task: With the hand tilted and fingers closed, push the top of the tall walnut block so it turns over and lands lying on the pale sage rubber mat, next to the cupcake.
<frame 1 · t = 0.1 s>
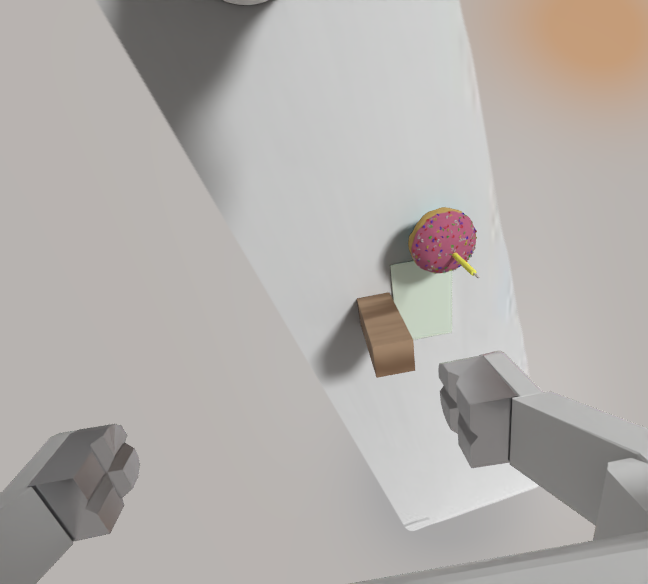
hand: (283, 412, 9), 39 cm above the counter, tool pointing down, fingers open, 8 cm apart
mat: (422, 300, 54), on the counter
cupcake: (429, 230, 48), on the counter
block: (374, 309, 54), on the counter
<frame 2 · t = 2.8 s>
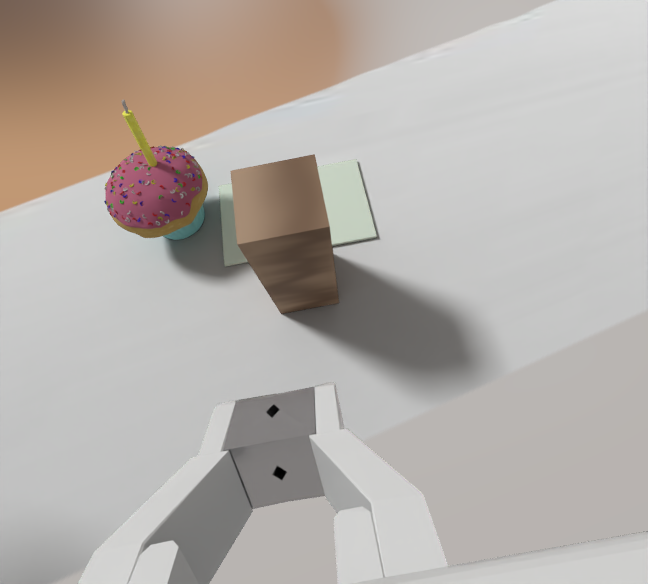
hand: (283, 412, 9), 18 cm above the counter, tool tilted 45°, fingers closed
mat: (294, 211, 33), on the counter
cupcake: (182, 221, 34), on the counter
block: (305, 282, 30), on the counter
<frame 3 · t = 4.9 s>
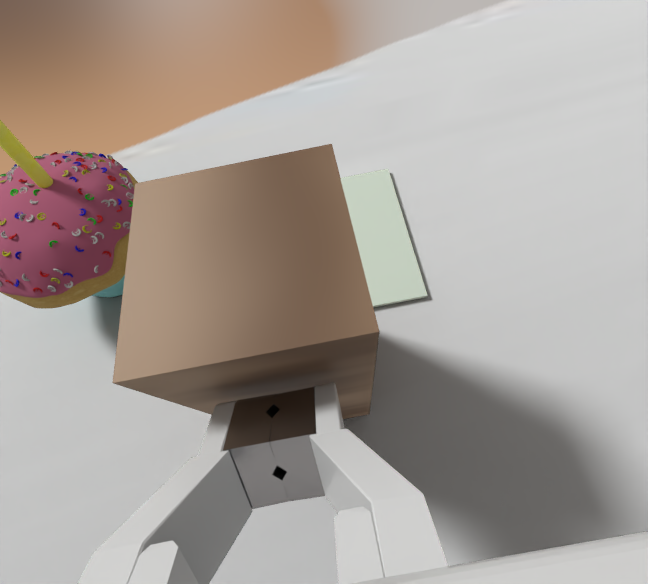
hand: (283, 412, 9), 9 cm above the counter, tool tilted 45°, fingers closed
mat: (292, 251, 21), on the counter
cupcake: (121, 266, 22), on the counter
block: (311, 373, 18), on the counter, touching gripper
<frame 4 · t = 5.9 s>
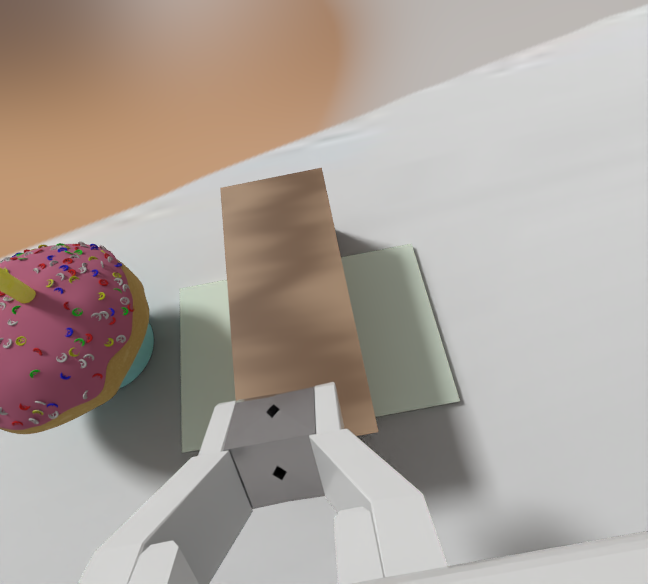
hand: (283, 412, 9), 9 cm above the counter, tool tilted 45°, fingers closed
mat: (307, 340, 19), on the counter
cupcake: (117, 352, 20), on the counter
block: (316, 442, 15), point 3 cm above the counter, tilted 90°, touching mat
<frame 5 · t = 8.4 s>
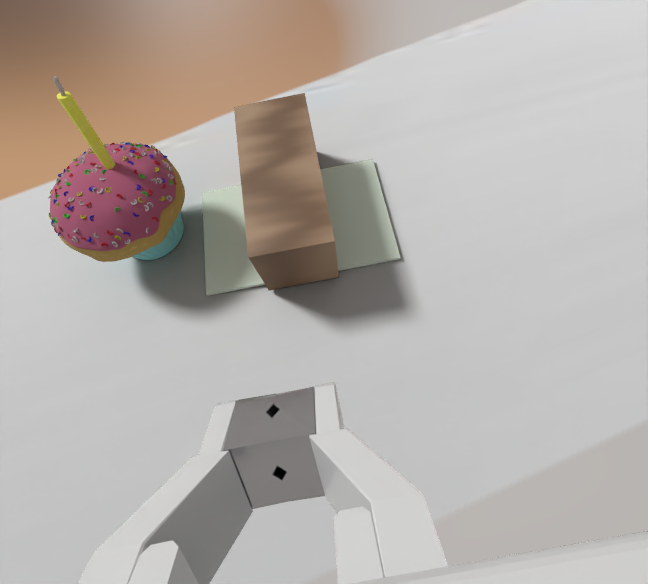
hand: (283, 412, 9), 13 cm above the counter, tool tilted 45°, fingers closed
mat: (294, 224, 26), on the counter
cupcake: (156, 236, 27), on the counter
block: (298, 268, 22), point 3 cm above the counter, tilted 90°, touching mat
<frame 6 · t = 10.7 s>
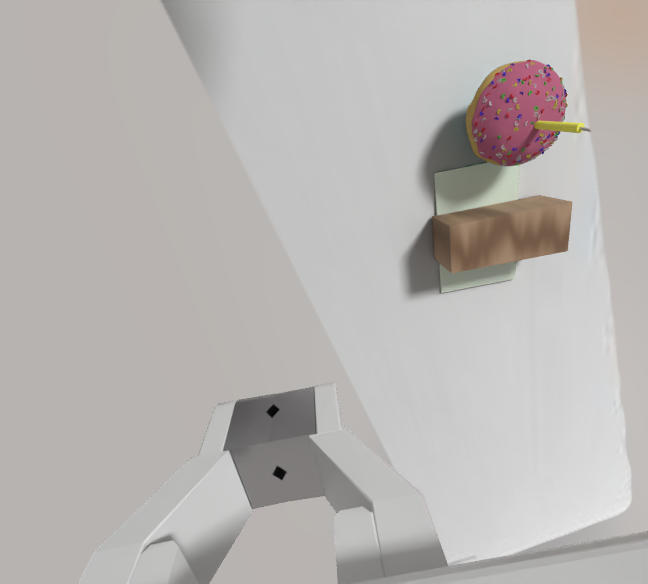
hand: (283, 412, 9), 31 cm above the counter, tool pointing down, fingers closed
mat: (476, 229, 39), on the counter
cupcake: (488, 120, 35), on the counter
block: (441, 243, 37), point 3 cm above the counter, tilted 90°, touching mat
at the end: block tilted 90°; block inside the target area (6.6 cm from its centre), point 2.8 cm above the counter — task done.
